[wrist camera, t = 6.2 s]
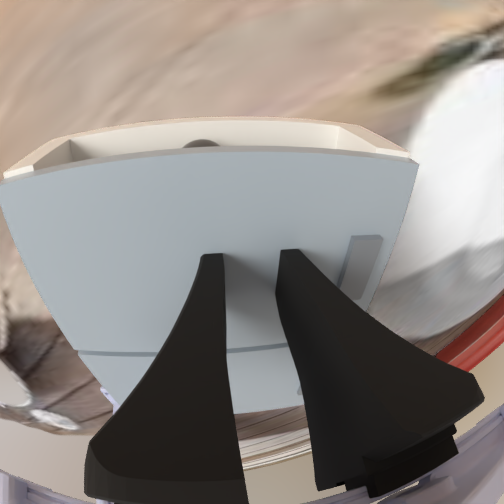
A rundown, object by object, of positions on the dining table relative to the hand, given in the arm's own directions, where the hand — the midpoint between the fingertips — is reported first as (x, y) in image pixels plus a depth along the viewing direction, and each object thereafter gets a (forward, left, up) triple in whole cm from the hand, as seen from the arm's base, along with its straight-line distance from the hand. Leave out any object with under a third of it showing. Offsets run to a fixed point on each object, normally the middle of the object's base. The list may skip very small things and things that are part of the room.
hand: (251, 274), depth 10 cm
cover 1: (0, +1, -1) cm, 2 cm away
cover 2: (-9, +2, -1) cm, 9 cm away
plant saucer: (-22, -37, -5) cm, 44 cm away
